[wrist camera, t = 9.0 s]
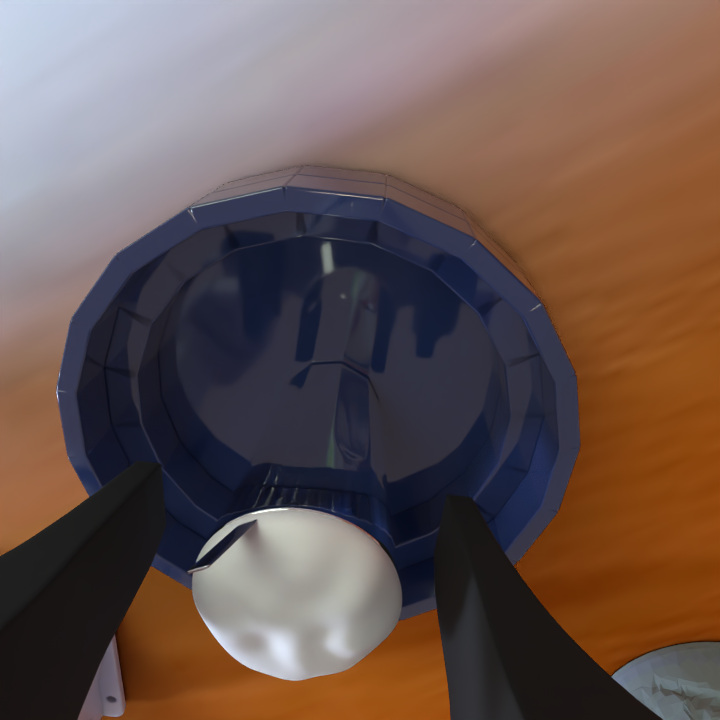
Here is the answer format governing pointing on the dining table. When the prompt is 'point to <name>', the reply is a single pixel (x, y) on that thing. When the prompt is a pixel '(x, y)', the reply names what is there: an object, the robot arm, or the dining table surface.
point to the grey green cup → (676, 681)
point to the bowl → (324, 358)
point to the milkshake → (306, 537)
